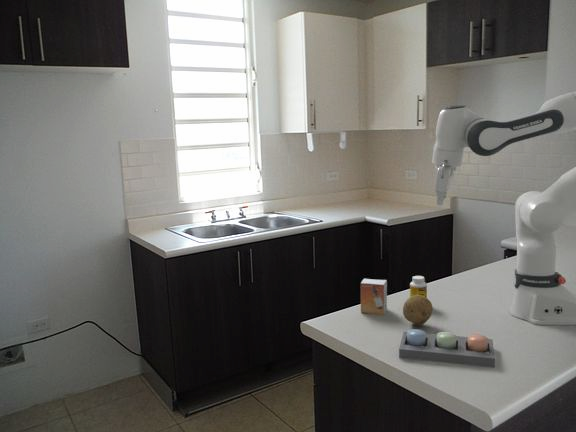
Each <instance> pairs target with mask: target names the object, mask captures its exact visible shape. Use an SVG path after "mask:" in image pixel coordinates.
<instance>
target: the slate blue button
mask: <svg viewBox="0 0 576 432" xmlns="http://www.w3.org/2000/svg"><path fill="white" fill-rule="evenodd" d="M406 332H407V344H406V345H412V346H422V347H425V346H424V345H425V340H426V334H427V333H426V331H425V330H423V329H417V328H416V329H413V328H412V329H408V330H407V331H406Z"/></svg>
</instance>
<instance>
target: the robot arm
mask: <svg viewBox="0 0 576 432" xmlns="http://www.w3.org/2000/svg"><path fill="white" fill-rule="evenodd" d="M575 131H576V91H572V92H568V93H564V94H561V95H557V96H555V97H554V98H551V99H547V100H546V101H545V102H543V104H542V105H541V107H540V108H539V110H538V111H537V112H534V113H532V114H530V115H529V114H528V115H526V116H522V117H519V118H515V119H512V120H511V119H510V120H508V121H494V120H490V119H488V118H485V117H483V116H481V115H479V114H477V113H475V112H473V111H472V110H471V109H469V108H468V106H466V105H460V104H459V105H450V106H445V107H444V108H442V110H441V111H440V112H439V114H438V118H437V123H436V127H435V143H434V145H433V150H432V151H433V152H432V159H431V164H433V165H435V170H437V171H436V176H435V182H434V193H436V199H437V200H436V205H437V206H441V207H442V206H443V205H444V202H445V201H444V200H446V198H447V193H448V190H449V188H450V186H451V184H452V181H453V179H454V175H455V173H456V172H455V171H457V167H460V166H462V163H463V156H464V155H463V154H464V150H465V148H469V149H470V150H471V152H473V153H474V154H475V155H478V156H481V157H490V156H493V155H495V154H498V153H499V152H501V151H503V149H505V148H506V147H508V146H509V145H512V144H514V143H518V142H522V141H524V140H529V139H533V138H536V137H539V136H546V135H553V134H555V135H556V134H564V133H569V132H575ZM514 212H515V215H514V216H515V220H514V221H515V233H516V234H515V235H516V268H515V269H514V275H513V285H514V292H513V296H512V297H513V298H512V302H511V304H510V308H509V313H510V314H511V315H512V316H514V317H516V318H518V319H521V320H525V321H528V322H530V323H532V324H534V325H540V326H542V325H549V326H550V325H551V326H552V325H554V326H555V325H556V326H557V325H558V326H561V325H563V326H565V325H566V326H567V325H568V326H569V325H570V326H576V294H575V293H574V292H573V291H571V290H570V289H569V288H567V287H566V286H564V284H566V283H567V280H566V277H564V276H562V274H560V273H559V272H557V271H556V259H557V258H556V257H557V246H556V240H555V232H557V231H558V230H559V229H560V228H561V227H562V226H563V224H564V223H566V222H567V220H569V219H571V217H573V216H574V215H575V214H576V166H575V167H573V168H572V169H570V170H568V171H566V172H565V173H564V174H562V175H561V176H560V177H559V178H558V179H557V180H556V181H555V182H553V184H552V185H550V186H549V187H548V188H546V189H545V190H543V191H539V190H530V191H527V192H524V193H522V194H520V195H519V196H518V197H517V199H516V201H515V205H514Z"/></svg>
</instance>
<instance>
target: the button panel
mask: <svg viewBox="0 0 576 432" xmlns="http://www.w3.org/2000/svg"><path fill="white" fill-rule="evenodd" d="M437 334H438V333H436V334H434V333H426V340H425V345H424V346H412V345H408V344H407V331H403V333H402V336H401V341H400V345H399V350H398V358H399V359H407V360H409V359H410V360H418V361H426V362H437V363H446V364H447V363H448V364H458V365H466V366H468V365H469V366H475V367H486V368H496V356H495V349H494V342H493V341H494V340H493V339H492V338H488V350H487V352H475V351H470V350H469V349H468V336H460V335H459V336H458V335H456V348H455V349H443V348H439V347H437Z"/></svg>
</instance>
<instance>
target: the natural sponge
mask: <svg viewBox="0 0 576 432" xmlns="http://www.w3.org/2000/svg"><path fill="white" fill-rule="evenodd" d="M433 311H434V310H433V304H432V302H431V300H429V299H428V298H426V297H425V296H422V295H414V296H411V297H410V296H409V298H407V299H406V300H405V301H404V304H403V307H402V314H403V316H404V318H405V319H406V321H408V322H410V323H412V324H413V325H414V326H416V327H420V326H422V325H425V324H426V323H427V322H428V320H429V319H430V317H431V316H432V313H433Z"/></svg>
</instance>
